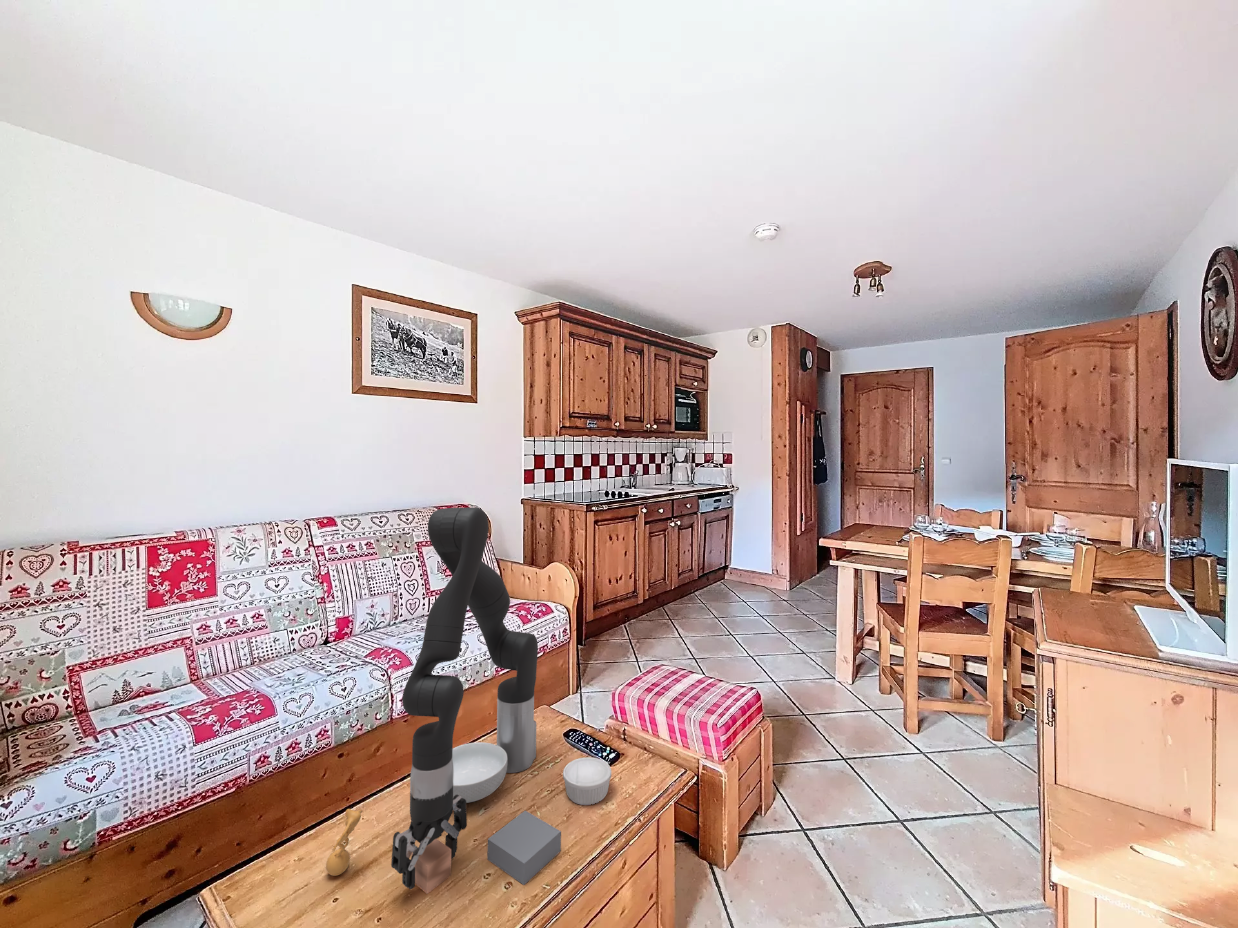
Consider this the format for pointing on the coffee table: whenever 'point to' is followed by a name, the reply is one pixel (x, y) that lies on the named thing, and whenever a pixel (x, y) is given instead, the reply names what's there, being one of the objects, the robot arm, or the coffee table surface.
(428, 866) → the terracotta cube
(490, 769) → the cereal bowl
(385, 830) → the coffee table surface
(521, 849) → the slate base
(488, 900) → the coffee table surface
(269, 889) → the coffee table surface
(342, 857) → the figurine
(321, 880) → the coffee table surface
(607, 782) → the ramekin
